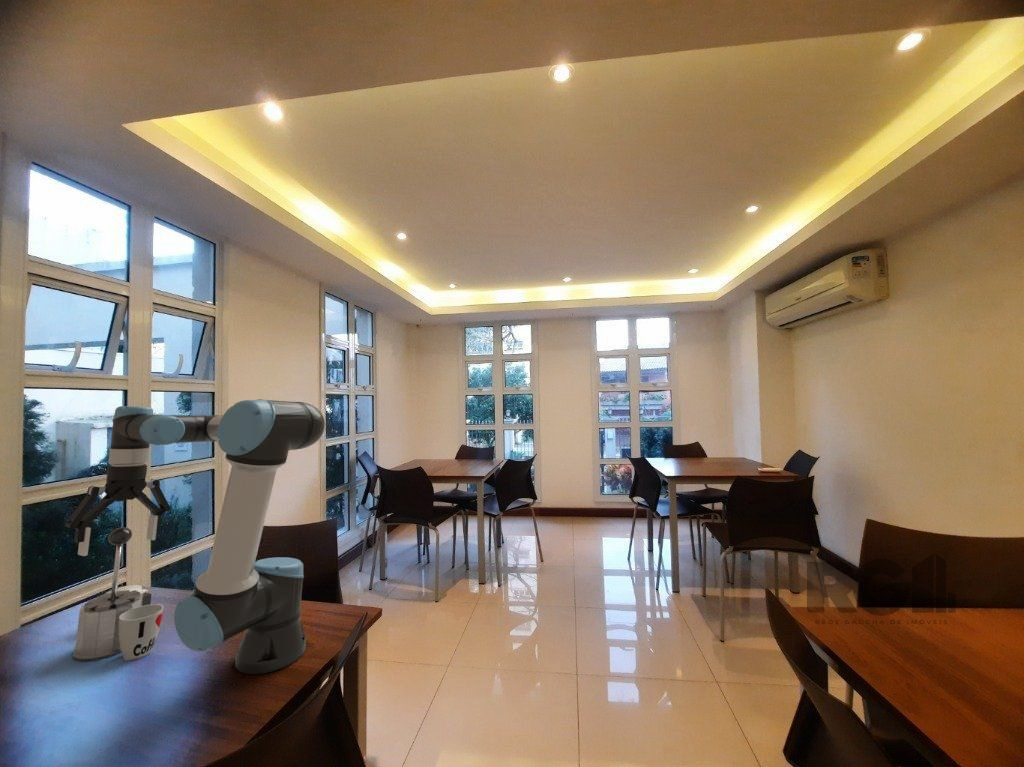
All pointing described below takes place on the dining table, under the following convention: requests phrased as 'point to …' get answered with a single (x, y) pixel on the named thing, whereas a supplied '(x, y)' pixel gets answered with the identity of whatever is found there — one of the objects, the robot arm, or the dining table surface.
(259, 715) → the dining table surface
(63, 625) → the dining table surface
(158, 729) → the dining table surface
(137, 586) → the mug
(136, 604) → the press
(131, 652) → the cup
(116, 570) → the plunger
